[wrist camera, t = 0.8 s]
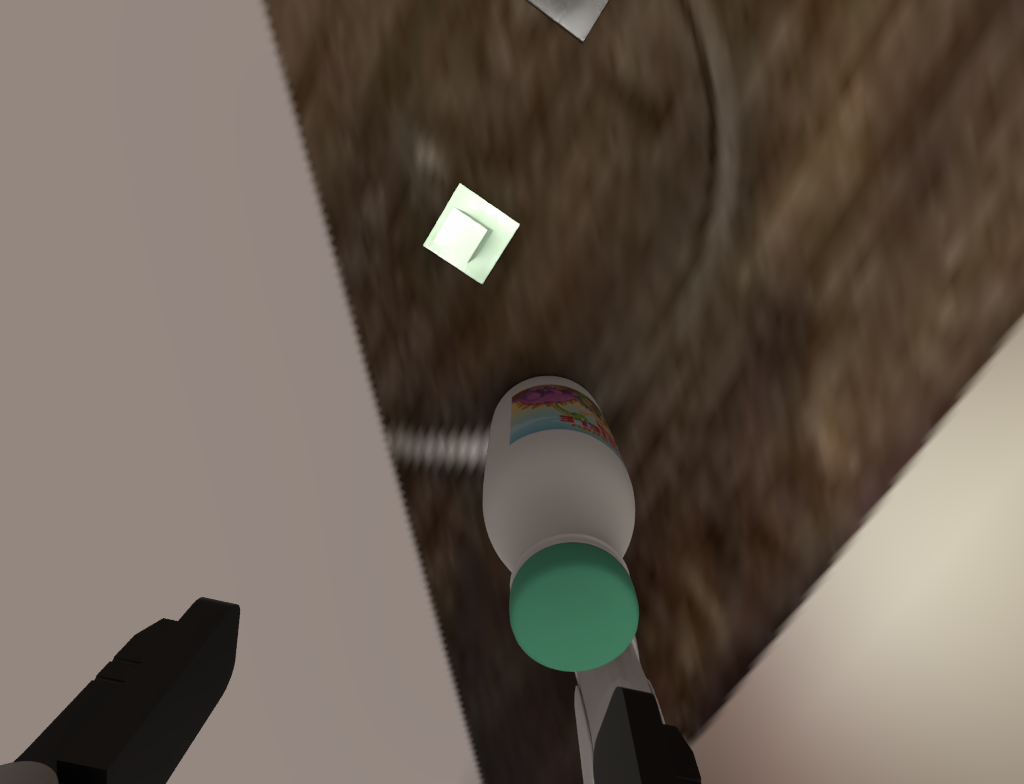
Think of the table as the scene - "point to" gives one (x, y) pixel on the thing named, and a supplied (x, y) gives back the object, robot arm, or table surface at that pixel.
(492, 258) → the gate posts
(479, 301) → the table surface
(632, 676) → the soap bottle
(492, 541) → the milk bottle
